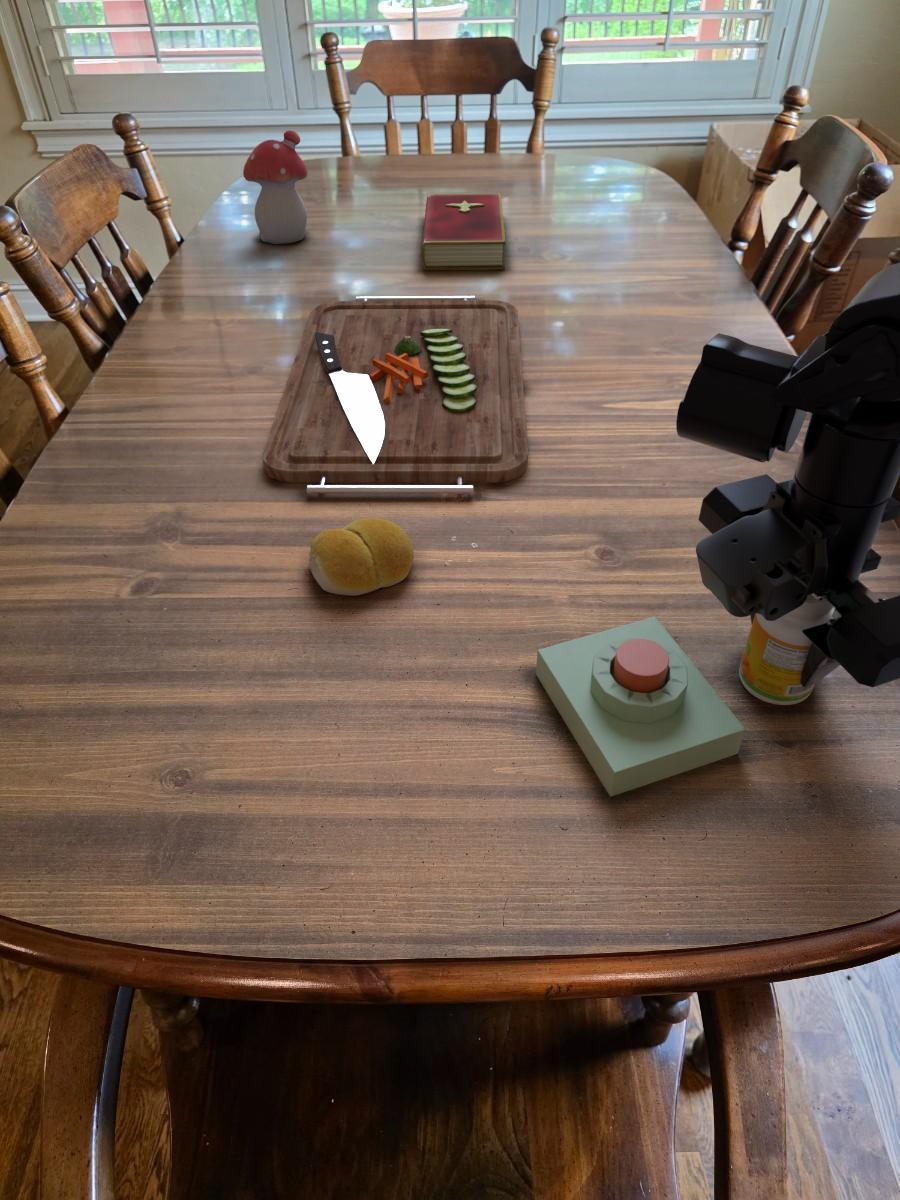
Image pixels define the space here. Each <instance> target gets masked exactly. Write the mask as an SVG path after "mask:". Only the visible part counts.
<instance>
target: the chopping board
mask: <svg viewBox="0 0 900 1200" xmlns="http://www.w3.org/2000/svg"><path fill="white" fill-rule="evenodd" d="M518 311H519V310H518V309H517V308H516V306H515V305H513V304H512V303H510V302H507V301H503V300H494V299H476V296H475V295H409V296H408V295H407V296H406V295H405V296H403V295H401V296H399V295H397V296H395V295H393V296H388V295H386V296H385V295H383V296H381V295H380V296H378V295H377V296H375V295H374V296H355V300H335V301H328V302H324V303H321V304H318V305H317V306H315V307H314V308H313V309H311V311H310V313H309V315H308V319H307V321H306V325H305V328H304V331H303V334H302V336H301V339H300V342H299V345H298V348H297V351H296V354H295V357H294V360H293V363H292V366H291V369H290V372H289V374H288V378H287V381H286V384H285V386H284V389H283V393H282V395H281V398H280V401H279V404H278V406H277V410H276V413H275V416H274V419H273V422H272V425H271V426H270V427H271V428H270V431H269V434H268V437H267V440H266V443H265V446H264V448H263V451H262V462H263V468H264V472H265V473H266V474H267V476H268V477H269V478H272V479H274V480H276V481H278V482H283V483H284V482H285V483H292V484H293V483H295V484H297V483H300V484H301V483H302V484H303V483H304V484H305V483H306V484H307V483H308V484H307V485H306V493H307V494H309V495H311V494H312V495H314V494H316V495H321V494H322V495H323V494H324V495H325V494H326V495H328V494H329V495H330V494H334V495H337V494H339V495H342V494H344V495H345V494H347V495H351V494H353V495H355V494H356V495H361V494H362V495H364V494H365V495H369V494H370V495H371V494H372V495H377V494H379V495H384V494H385V495H388V494H389V495H422V494H423V495H425V494H426V495H466V494H467V495H473V494H474V489H475V488H474V485H473V484H495V483H497V484H498V483H505V482H509V481H512V480H515V479H517V478H520V477H521V476H522V475H523V474H524V473H526V471H527V468H528V463H529V446H528V434H527V433H528V432H527V431H528V430H527V421H526V419H527V418H526V405H525V392H524V378H523V365H522V353H521V339H520V327H519V312H518ZM309 483H311V484H309ZM312 483H317V484H313V485H312ZM318 483H319V484H318ZM327 483H328V484H327ZM329 483H331V484H329ZM334 483H335V484H334ZM336 483H339V485H338V484H336ZM340 483H341V484H340ZM347 483H348V484H347ZM349 483H350V484H349ZM353 483H354V484H353ZM355 483H359V484H358V485H357V484H356V485H355ZM362 483H363V484H364V485H363V484H362ZM365 483H367V485H366V484H365ZM370 483H372V484H370ZM373 483H374V484H375V483H379V485H378V484H377V485H376V484H375V485H373ZM382 483H383V484H382ZM384 483H385V485H384ZM387 483H388V485H387ZM389 483H390V485H389ZM395 483H396V484H395ZM399 483H401V484H399ZM407 483H408V484H407ZM410 483H411V484H412V485H411V484H410ZM413 483H414V484H415V485H413ZM425 483H426V484H427V485H425ZM429 483H430V484H431V485H430V484H429ZM440 483H441V484H443V483H444V484H447V485H441V484H440ZM326 484H327V485H326ZM343 484H344V485H343ZM346 484H347V485H346ZM369 484H370V485H369ZM381 484H382V485H381ZM391 484H392V485H391ZM393 484H394V485H393ZM397 484H398V485H397ZM402 484H403V485H402ZM404 484H405V485H404ZM409 484H410V485H409ZM419 484H421V485H419ZM422 484H424V485H422ZM428 484H429V485H428ZM432 484H433V485H432ZM435 484H436V485H435ZM437 484H438V485H437ZM449 484H451V485H449ZM455 484H456V485H455ZM463 484H468V485H463ZM469 484H470V485H469ZM471 484H472V485H471Z"/></svg>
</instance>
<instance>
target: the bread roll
mask: <svg viewBox="0 0 900 1200" xmlns="http://www.w3.org/2000/svg"><path fill="white" fill-rule="evenodd" d="M308 556H309V558H308V563H307V564H308V567H309V569H310V572H311V573H312V576H313V578H314V580H315V581H316V583H317V584H318V585H319V586H320V588H321V589H322V590H323V591H325V592H327V593H330V594H334V595H340V596H341V595H342V596H352V597H353V596H360V595H364V594H369V593H371V592H373V591H377V590H379V589H380V588H389V587H391V586H394V585H396V584H398V583H400V582H401V581H403V580H405V579H406V578H407V576H408V575H409V573H410V571H411V568H412V565H413V562H414V557H415V556H414V547H413V543H412V541H411V538H410V536H408V534H407V532H406V530H404V529H403V528H402V527H400V525H398V524H397V523H395V522H393V521H391V520H388V519H384V518H376V517H375V518H358V519H357V520H354V521H352V522H350V523H348V524H347V525H345V526H343V527H342V528H328V529H325V530H322V531H320V532H319V533H318V534H317V535H316V536H315V537H314V539H313V540H312V541H311V542H310V551H309V554H308Z"/></svg>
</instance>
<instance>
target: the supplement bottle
mask: <svg viewBox="0 0 900 1200" xmlns="http://www.w3.org/2000/svg"><path fill="white" fill-rule="evenodd" d="M834 610H835V607H834V606H833V605H832V604H831V603H830V602H829V601H828V600H827V599H825V600H822V601H819V600H816V599H815V598H814V597H813V596H812V595H811V594H810V595H807V599H806V601H805V602H804V603H803V605H802V606H800V607H798V608H797V609H795V610H793V611H791V612H789V613H788V614H786V615H784V616H782V617H780V618H779V619H777V620H775V621H767V620H766V619H765V618H764V617H763V616H762V615H761V614H758V613H755V617H754V620H753V623H751V628H750V630H749V633H748V637H747V641H746V643H745V648H744V651H743V654H742V658H741V660H740V665H739V670H738V673H739V674H738V675H739V679H740V682H741V683H742V685H743V687H744V688H745V689H746V690H747V692H749V694H751V695H752V696H754V697H755V698H757V699H758V700H761V701H763V702H765V703H768V704H772V705H776V706H790V705H796V704H799V703H801V702H803V701H805V700H807V698H808V697H809V696H810V695H811V694H812V692H813V689H814V687H815V685H816V684H813V685H810V686H807V687H803V686H802V685H801V683H800V682H801V675H802V670H803V667H804V664H805V661H806V659H807V656H808V653H809V650H810V647H811V644H812V642H811V641H810V640H809V639H808V638H807V637H806V636H805V635H804V634H803V633H802V630H804V629H808V628H811V627H814V626H818V625H821V624H824V623H827V622H829V620H830V619H834V618H833V617H832V615H833V612H834Z"/></svg>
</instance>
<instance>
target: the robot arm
mask: <svg viewBox="0 0 900 1200" xmlns="http://www.w3.org/2000/svg"><path fill="white" fill-rule="evenodd" d="M807 413H809V414H811V416H810V418H809V419H810V420H809V422H808V425H807V429H806V433H805V437H804V439H803V443H802V446H801V449H800V453H799V457H798V459H797V463H796V467H795V469H794V474H793V477H792V479H789V480H785V481H781V482H777V481H775V480H774V479H773V478H772V477H770V475H768V474H762V475H757V476H754V477H749V478H745V479H742V480H737V481H734V482H730V483H729V482H728V483H725V484H722V485H721V484H720V485H717V486H715V487H713V488H711V490H709V492H708V493H706V494H705V495H704V497H703V499H702V501H701V506H700V511H699V516H698V521H699V523H700V524H701V525H703V526H704V527H705V528H706V529H707V531H709V532H710V533H711V534H710V535H708V536H707V537H705V538H703V539H702V540H700V541H699V542H698V543H697V545H696V547H695V553H696V557H697V563H698V568H699V573H700V577H701V582H702V584H703V586H704V587H705V588H706V589H707V590H709V591H710V592H711V594H713V595H714V597H715V598H716V599H717V600H718V601H719V602H720V603H721V604H722V606H723V607H724V609H725V610H726V611H727V612H728V613H729V614H730V615H731V616H733V617H737V618H747V617H749V616H750V622H751V624H752V623H753V620H754V617H755V613H758V614H761V615H762V616H763V617H764V618H765V619H766V620H767V621H775V620H777V619H779V618H780V617H782V616H784V615H786V614H788V613H789V612H791V611H793V610H795V609H797V608H798V607H800V606H802V605H803V603H804V602H805V601H806V599H807V595H810V594H811V595H812V596H813V597H814V598H815V599H816V600H819V601H822V600H825V599H827V600H828V601H829V602H830V603H831V604H832V605H833V606H834V607H833V608H834V612H833V615H832V617H833V618H834V619H830V620H829V622H827V623H824V624H821V625H818V626H814V627H811V628H808V629H804V630H802V633H803V634H804V635H805V636H806V637H807V638H808V639H809V640H810V641H811V642H812V644H811V647H810V650H809V653H808V656H807V659H806V661H805V664H804V667H803V670H802V675H801V682H800V683H801V685H802V686H803V687H807V686H810V685H813V684H815V685H816V684H817V683H819V682H820V681H821V680H822V679H824V678H825V677H826V676H828V675H830V673H832V672H833V671H835V670H836V669H837V668H838V667H840V666H841V667H842V668H843V669H844V670H845V672H847V673H848V674H849V675H850V677H852V678H853V680H854V681H856V682H857V684H860V685H863V686H867V687H870V688H876V687H879V686H881V685H884V684H887V683H890V682H893V681H897V680H899V679H900V595H896V596H894V597H890V596H888V595H887V594H885V593H882V592H874V591H872V590H871V589H870V588H868V587H867V586H866V585H865V584H864V583H863V582H861V581H860V580H859V578H860V575H862V574H865V573H868V572H871V571H875V570H878V568H879V565H880V563H881V560H882V558H883V557H882V556H881V555H880V554H879V553H878V552H877V551H876V550H874V549H873V548H872V547H873V543H874V541H875V539H876V536H877V533H878V531H879V529H880V526H881V524H882V523H887V522H890V521H893V520H897V519H898V518H899V516H900V502H899V501H898V500H897V499H895V497H893V492H894V490H895V487H896V485H897V483H898V479H899V477H900V262H897V263H894V264H890V265H889V266H887V267H885V268H883V269H882V270H880V271H878V272H876V273H875V274H874V275H872V277H871V278H869V279H868V280H867V281H866V283H865V284H864V285H863V286H862V287H861V288H860V290H859V291H858V292H857V293H856V294H855V295H854V297H853V298H852V299H851V300H850V301H849V302H848V304H847V305H846V306H845V307H844V308H843V309H842V310H841V312H840V313H839V314H838V315H837V317H836V318H835V319H834V320H833V322H832V324H831V326H830V327H829V330H827V331H826V332H825V333H824V334H822V335H817V336H816V337H815V338H814V339H813V341H812V342H811V343H810V344H809V345H808V346H807V348H806V349H805V350H804V351H803V352H802V353H801V355H800V356H798V355H794V354H790V353H786V352H782V351H778V350H775V349H772V348H771V349H770V348H766V347H763V346H758V345H754V344H750V343H748V342H745V341H743V340H742V339H740V338H739V337H735V336H731V335H728V334H723V333H720V332H719V333H717V334H715V335H714V336H713V337H712V338H710V340H709V341H707V342H706V344H704V346H703V347H702V352H701V357H700V362H699V363H698V365H697V367H696V369H695V370H694V372H693V374H692V377H691V379H690V381H689V383H688V386H687V389H686V391H685V394H684V397H683V399H681V400H680V402H679V405H678V409H677V413H676V422H675V423H676V424H675V427H676V429H675V430H676V433H677V436H678V437H680V438H683V439H685V440H688V441H692V442H695V443H698V444H701V445H704V446H708V447H711V448H714V449H718V450H720V451H724V452H727V453H730V454H733V455H737V456H739V457H743V458H746V459H750V460H753V461H755V462H759V463H766V462H771V459H772V457H773V456H774V453H775V450H778V452H779V451H780V452H783V453H789V451H790V450H791V449H792V447H793V446H794V444H795V442H796V440H797V438H798V436H799V434H800V432H801V430H802V427H803V424H804V422H805V419H806V416H807Z"/></svg>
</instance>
